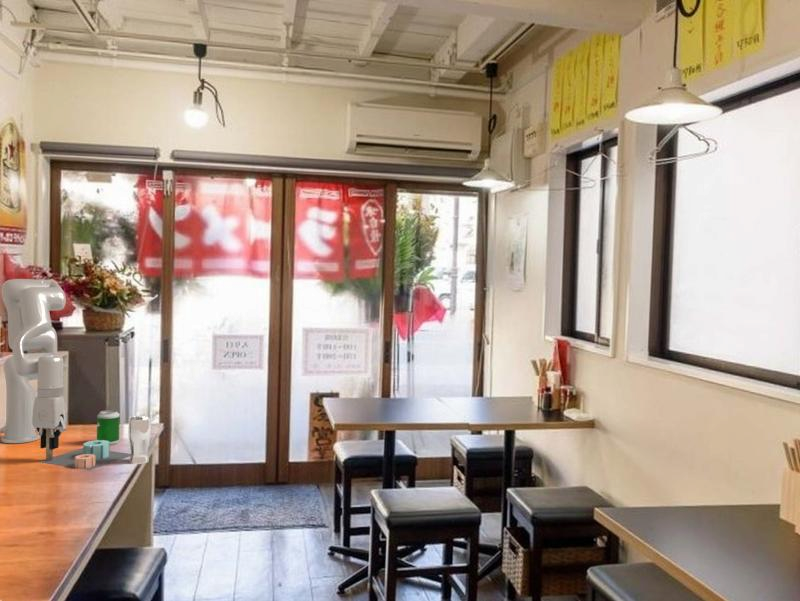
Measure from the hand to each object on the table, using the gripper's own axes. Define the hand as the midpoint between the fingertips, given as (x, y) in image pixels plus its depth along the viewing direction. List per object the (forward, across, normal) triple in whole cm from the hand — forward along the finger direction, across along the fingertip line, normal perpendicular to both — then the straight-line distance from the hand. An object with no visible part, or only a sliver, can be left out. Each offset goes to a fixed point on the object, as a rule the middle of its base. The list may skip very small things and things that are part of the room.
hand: (49, 447), depth 213 cm
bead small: (+4, +15, 0) cm, 16 cm away
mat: (+5, +9, +7) cm, 12 cm away
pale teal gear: (+4, +10, +10) cm, 15 cm away
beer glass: (+5, +27, +11) cm, 30 cm away
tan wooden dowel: (+4, 0, 0) cm, 4 cm away
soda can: (+5, +1, +25) cm, 25 cm away
